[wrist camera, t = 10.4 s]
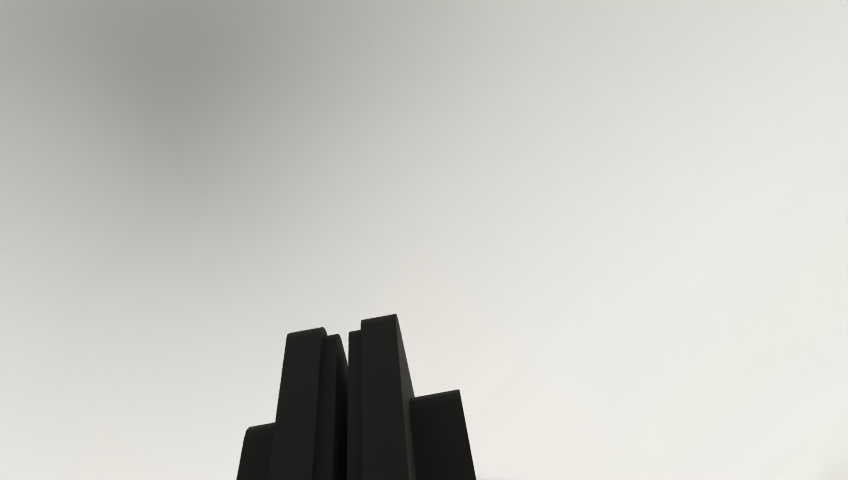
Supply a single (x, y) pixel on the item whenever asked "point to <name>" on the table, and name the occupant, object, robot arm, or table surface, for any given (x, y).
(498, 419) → the table surface
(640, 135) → the table surface
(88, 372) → the table surface
